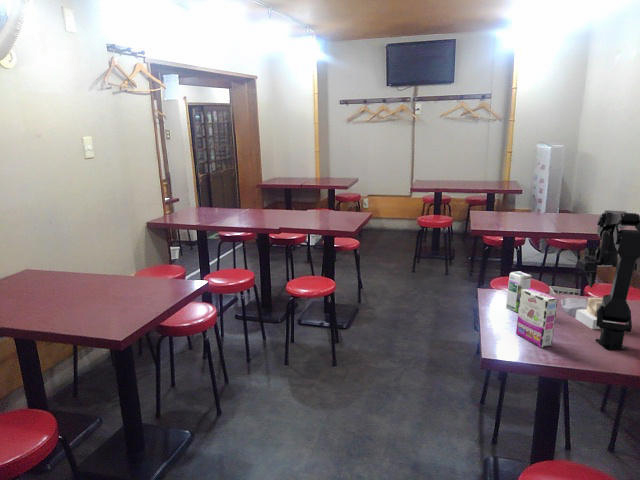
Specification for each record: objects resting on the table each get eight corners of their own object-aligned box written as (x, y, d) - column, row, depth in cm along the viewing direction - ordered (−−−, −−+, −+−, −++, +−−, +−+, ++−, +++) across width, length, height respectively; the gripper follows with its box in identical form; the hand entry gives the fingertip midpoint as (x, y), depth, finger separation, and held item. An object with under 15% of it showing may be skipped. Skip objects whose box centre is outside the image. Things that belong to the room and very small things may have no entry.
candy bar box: (552, 345, 146) (559, 298, 142) (541, 348, 144) (547, 300, 140) (526, 331, 156) (531, 287, 152) (515, 333, 154) (519, 289, 150)
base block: (615, 329, 158) (617, 318, 157) (592, 330, 157) (593, 319, 156) (598, 318, 167) (599, 308, 166) (575, 319, 166) (576, 309, 165)
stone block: (568, 321, 168) (597, 317, 166) (566, 309, 168) (596, 305, 166) (557, 309, 180) (584, 306, 178) (556, 298, 179) (583, 295, 177)
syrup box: (505, 307, 176) (508, 272, 173) (516, 305, 179) (519, 270, 175) (516, 312, 171) (520, 276, 168) (528, 310, 174) (532, 274, 170)
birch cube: (608, 316, 159) (611, 303, 158) (594, 316, 159) (597, 303, 158) (599, 310, 164) (602, 298, 163) (586, 310, 164) (588, 297, 162)
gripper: (621, 239, 166) (614, 278, 170) (571, 240, 166) (565, 279, 170) (642, 247, 155) (634, 289, 159) (588, 248, 155) (582, 290, 159)
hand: (603, 286), depth 162 cm, fingers open, 9 cm apart
